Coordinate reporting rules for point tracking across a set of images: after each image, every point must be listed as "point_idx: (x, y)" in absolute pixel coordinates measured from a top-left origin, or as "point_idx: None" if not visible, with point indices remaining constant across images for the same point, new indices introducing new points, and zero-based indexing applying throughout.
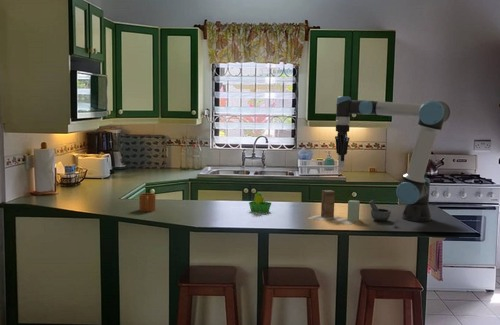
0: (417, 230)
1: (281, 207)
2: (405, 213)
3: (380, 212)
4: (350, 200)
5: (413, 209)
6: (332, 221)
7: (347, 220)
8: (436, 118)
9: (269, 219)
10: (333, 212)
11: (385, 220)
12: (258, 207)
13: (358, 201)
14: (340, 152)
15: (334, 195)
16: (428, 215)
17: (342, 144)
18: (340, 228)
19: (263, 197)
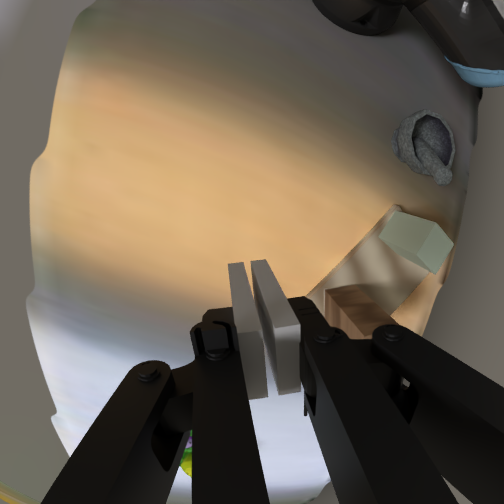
0: (469, 102)
1: (122, 378)
2: (359, 20)
3: (451, 162)
4: (423, 257)
5: (396, 13)
6: (393, 302)
7: (398, 254)
8: None
9: (292, 428)
10: (362, 292)
11: (428, 139)
12: None
13: (443, 233)
14: (315, 420)
15: (393, 319)
16: None
17: None
18: (427, 290)
19: None
